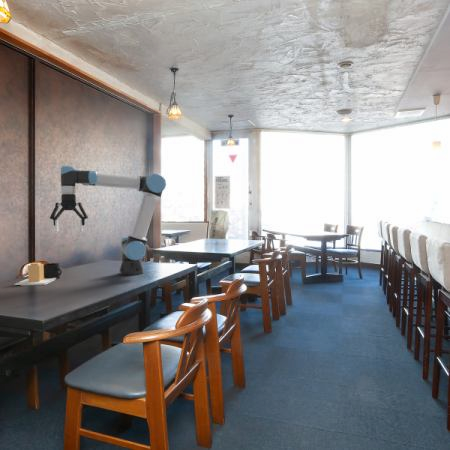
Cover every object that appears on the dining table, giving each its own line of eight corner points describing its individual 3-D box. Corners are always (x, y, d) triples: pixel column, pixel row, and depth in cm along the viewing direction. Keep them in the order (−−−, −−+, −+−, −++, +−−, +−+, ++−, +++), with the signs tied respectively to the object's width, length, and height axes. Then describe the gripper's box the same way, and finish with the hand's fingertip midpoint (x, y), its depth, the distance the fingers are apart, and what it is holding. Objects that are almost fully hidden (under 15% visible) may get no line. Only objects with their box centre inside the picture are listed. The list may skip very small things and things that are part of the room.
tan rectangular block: (43, 279, 213) (43, 262, 213) (39, 281, 207) (38, 263, 207) (33, 279, 213) (32, 262, 212) (28, 281, 207) (27, 264, 206)
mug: (56, 281, 215) (55, 265, 214) (38, 280, 218) (38, 265, 217) (66, 278, 224) (66, 263, 224) (49, 277, 227) (49, 262, 226)
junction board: (58, 278, 222) (58, 266, 222) (45, 284, 202) (44, 272, 202) (30, 278, 221) (30, 267, 220) (14, 285, 201) (14, 272, 201)
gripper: (92, 194, 214) (93, 230, 215) (48, 194, 212) (49, 231, 213) (89, 193, 206) (90, 231, 207) (42, 193, 204) (44, 232, 205)
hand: (69, 231), depth 210 cm, fingers open, 13 cm apart
